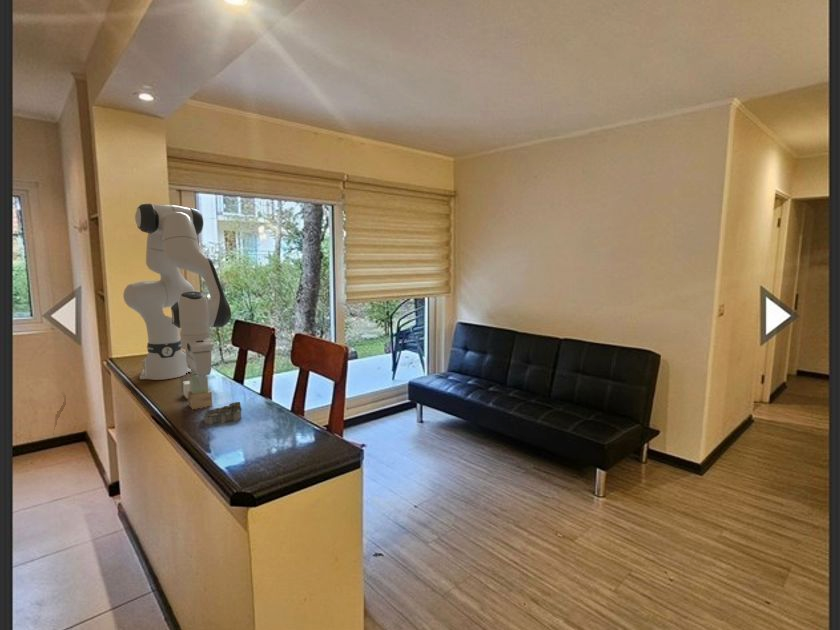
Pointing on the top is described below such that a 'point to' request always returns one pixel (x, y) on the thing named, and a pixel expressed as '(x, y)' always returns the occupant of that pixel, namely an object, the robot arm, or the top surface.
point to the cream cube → (186, 387)
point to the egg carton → (223, 413)
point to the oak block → (199, 399)
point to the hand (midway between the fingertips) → (198, 382)
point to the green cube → (195, 387)
